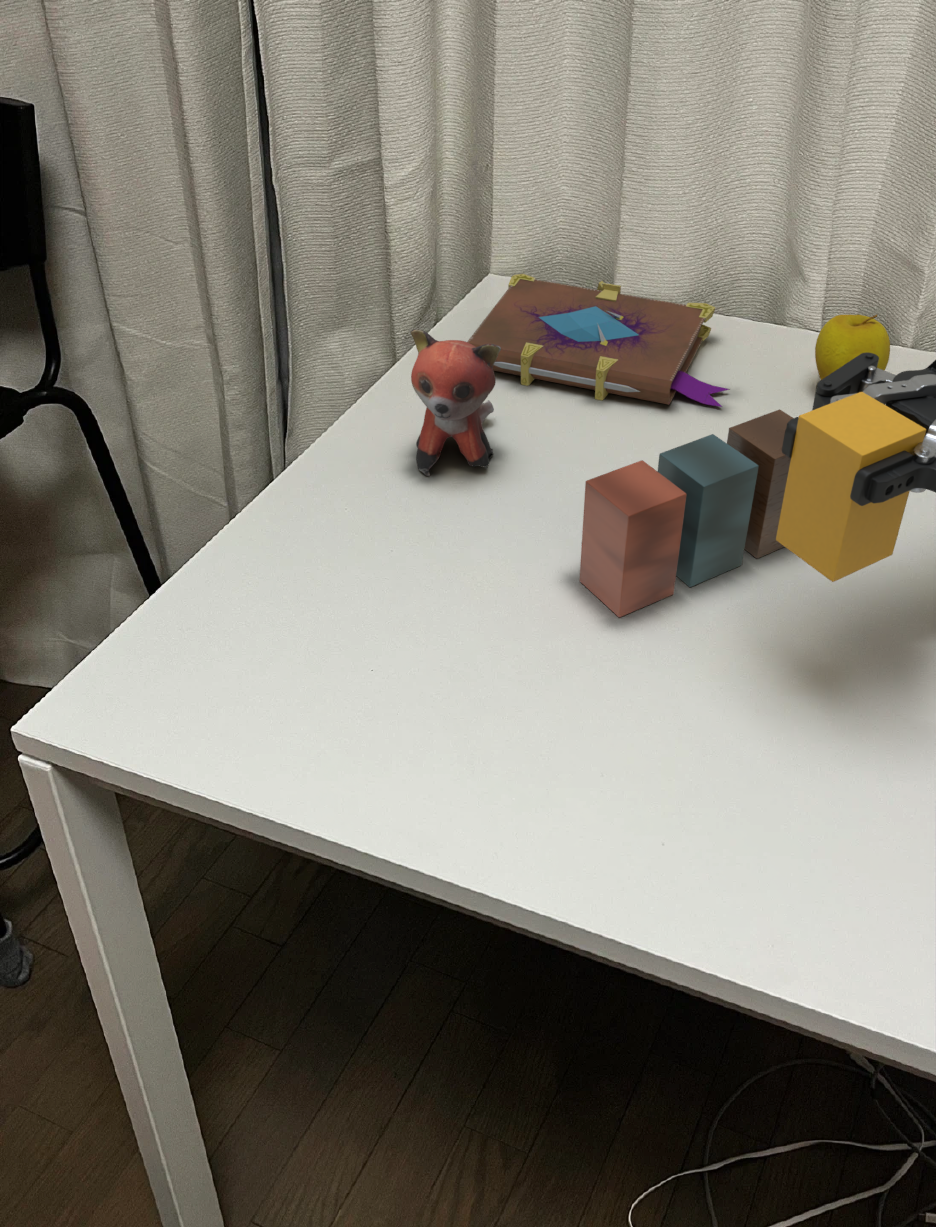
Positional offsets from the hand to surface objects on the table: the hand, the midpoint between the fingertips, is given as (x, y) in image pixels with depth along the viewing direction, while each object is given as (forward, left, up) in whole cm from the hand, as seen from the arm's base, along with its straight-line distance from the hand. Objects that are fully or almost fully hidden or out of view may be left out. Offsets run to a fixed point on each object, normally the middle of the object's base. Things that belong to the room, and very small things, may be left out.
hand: (822, 465), depth 68 cm
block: (-2, -2, -7) cm, 7 cm away
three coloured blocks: (+8, -13, -18) cm, 23 cm away
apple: (-1, -42, -18) cm, 45 cm away
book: (+21, -42, -18) cm, 50 cm away
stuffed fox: (+29, -22, -18) cm, 41 cm away
